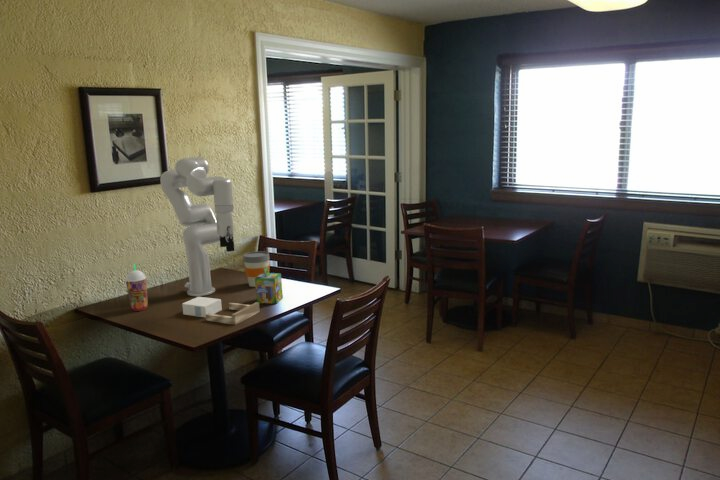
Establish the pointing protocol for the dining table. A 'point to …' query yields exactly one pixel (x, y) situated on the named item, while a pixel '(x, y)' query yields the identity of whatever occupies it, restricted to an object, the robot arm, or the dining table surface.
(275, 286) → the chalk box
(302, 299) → the dining table surface
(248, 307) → the open wooden frame
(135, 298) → the smoothie
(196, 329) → the dining table surface
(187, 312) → the carton
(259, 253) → the reusable coffee cup
